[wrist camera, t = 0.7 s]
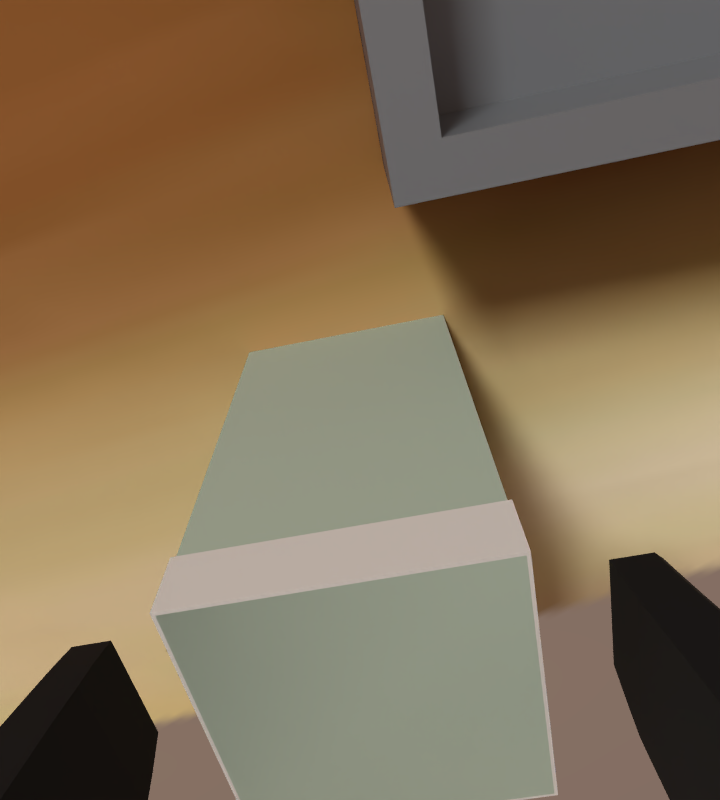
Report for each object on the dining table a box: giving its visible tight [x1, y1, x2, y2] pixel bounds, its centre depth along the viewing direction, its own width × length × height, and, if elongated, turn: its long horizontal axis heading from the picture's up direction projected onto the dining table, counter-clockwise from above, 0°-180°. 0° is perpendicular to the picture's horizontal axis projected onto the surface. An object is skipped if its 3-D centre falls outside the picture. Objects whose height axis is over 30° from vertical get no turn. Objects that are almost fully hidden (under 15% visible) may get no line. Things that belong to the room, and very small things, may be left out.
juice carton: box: [150, 315, 558, 800], centre depth 12 cm, size 4×4×8 cm
